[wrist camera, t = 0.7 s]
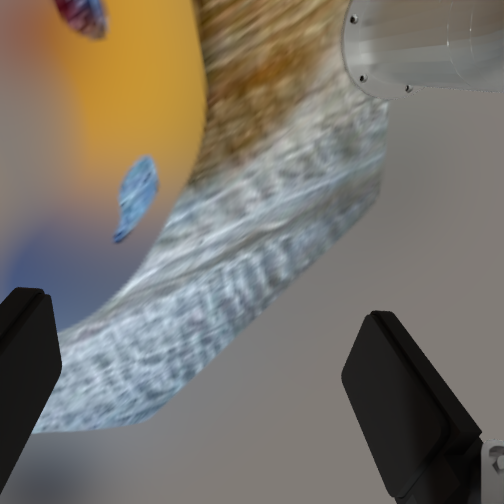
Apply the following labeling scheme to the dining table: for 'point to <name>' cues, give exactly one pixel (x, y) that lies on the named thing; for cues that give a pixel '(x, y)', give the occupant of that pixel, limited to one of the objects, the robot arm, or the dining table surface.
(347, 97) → the dining table surface
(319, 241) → the dining table surface
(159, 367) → the dining table surface
